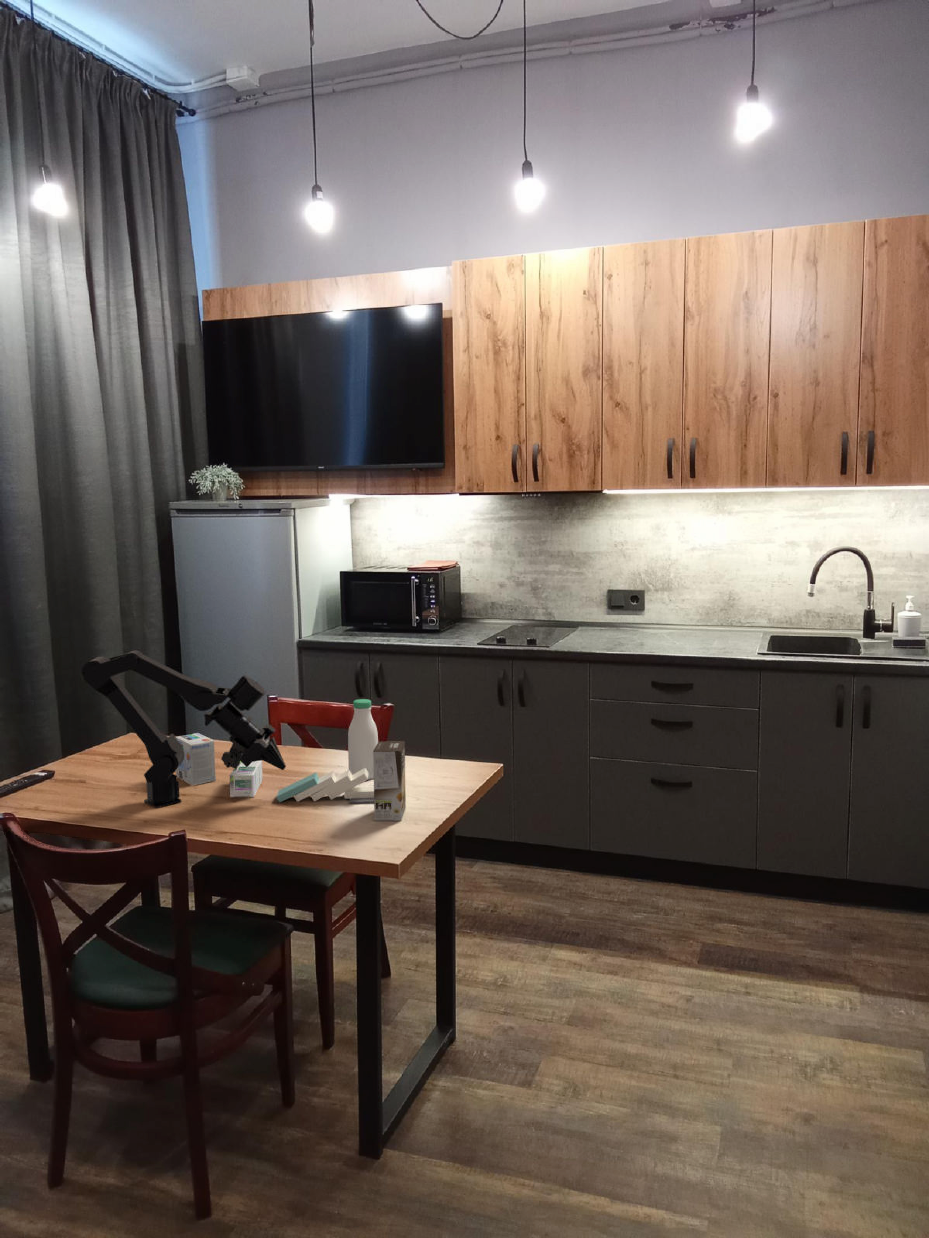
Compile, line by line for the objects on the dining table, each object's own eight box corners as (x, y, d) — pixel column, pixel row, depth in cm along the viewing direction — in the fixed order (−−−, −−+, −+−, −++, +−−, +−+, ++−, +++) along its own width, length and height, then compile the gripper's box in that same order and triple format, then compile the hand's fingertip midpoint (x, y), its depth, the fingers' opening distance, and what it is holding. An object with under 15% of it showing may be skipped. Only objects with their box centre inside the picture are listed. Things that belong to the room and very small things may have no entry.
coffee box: (402, 821, 212) (401, 751, 210) (373, 821, 212) (372, 751, 210) (406, 807, 221) (405, 740, 219) (378, 807, 221) (377, 740, 219)
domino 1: (276, 796, 225) (314, 778, 225) (279, 790, 230) (316, 772, 230) (279, 802, 225) (317, 784, 225) (282, 795, 230) (319, 778, 230)
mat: (349, 803, 224) (349, 801, 224) (351, 790, 234) (351, 788, 234) (392, 802, 224) (392, 800, 224) (392, 789, 234) (392, 787, 234)
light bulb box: (175, 776, 247) (173, 736, 246) (200, 771, 251) (198, 732, 250) (191, 786, 239) (189, 744, 237) (217, 781, 243) (215, 740, 241)
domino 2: (294, 796, 225) (331, 776, 225) (296, 789, 230) (333, 770, 230) (297, 801, 226) (334, 782, 225) (299, 795, 230) (336, 776, 230)
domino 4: (327, 794, 226) (364, 773, 226) (329, 787, 231) (365, 767, 231) (331, 799, 226) (367, 779, 226) (332, 793, 231) (368, 773, 231)
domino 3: (310, 795, 225) (347, 775, 225) (313, 789, 230) (349, 769, 230) (314, 801, 226) (351, 781, 226) (316, 794, 231) (352, 775, 230)
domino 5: (344, 792, 226) (386, 790, 227) (345, 785, 231) (387, 784, 231) (344, 798, 226) (386, 797, 227) (346, 792, 231) (387, 791, 232)
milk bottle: (384, 777, 245) (382, 701, 242) (357, 782, 241) (355, 705, 238) (369, 770, 251) (368, 696, 249) (343, 775, 247) (341, 699, 244)
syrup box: (262, 758, 243) (253, 773, 228) (262, 780, 243) (253, 797, 229) (239, 758, 242) (228, 774, 228) (240, 781, 243) (229, 798, 229)
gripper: (220, 738, 234) (266, 780, 236) (204, 758, 216) (255, 804, 218) (251, 706, 234) (297, 749, 236) (238, 724, 215) (288, 770, 217)
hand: (284, 768), depth 227 cm, fingers closed
